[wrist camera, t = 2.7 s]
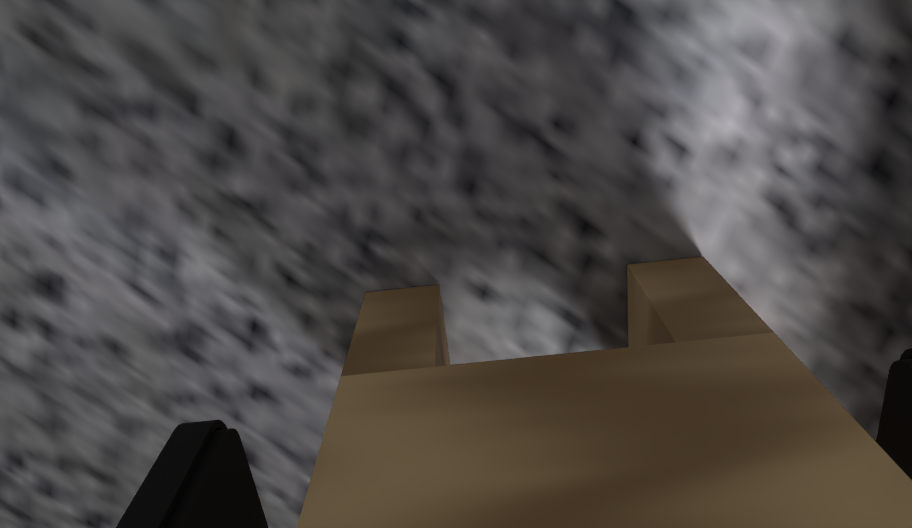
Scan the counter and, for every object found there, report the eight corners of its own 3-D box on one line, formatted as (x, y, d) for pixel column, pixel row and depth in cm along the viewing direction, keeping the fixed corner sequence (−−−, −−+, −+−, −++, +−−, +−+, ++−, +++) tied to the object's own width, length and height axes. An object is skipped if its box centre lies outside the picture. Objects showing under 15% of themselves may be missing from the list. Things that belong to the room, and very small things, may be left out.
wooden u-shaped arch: (703, 256, 13) (1114, 697, 5) (698, 380, 14) (1026, 904, 6) (365, 292, 14) (226, 765, 5) (387, 411, 15) (303, 950, 6)
